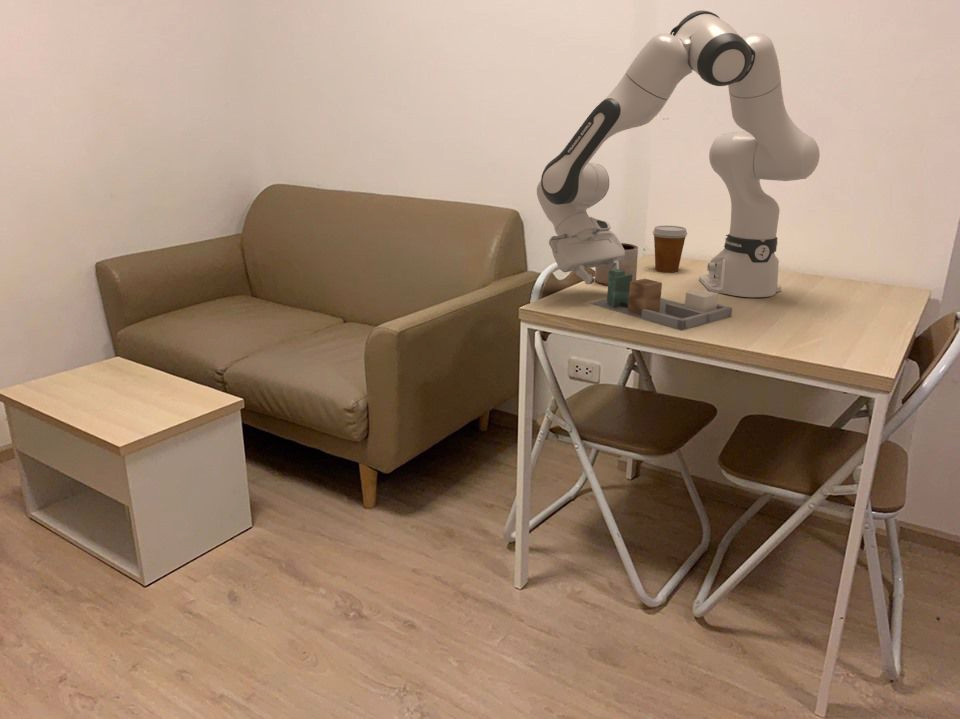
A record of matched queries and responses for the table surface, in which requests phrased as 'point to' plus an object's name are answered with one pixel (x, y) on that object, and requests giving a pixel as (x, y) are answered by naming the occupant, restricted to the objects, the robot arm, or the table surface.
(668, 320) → the board
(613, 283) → the toy blocks
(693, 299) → the cream block
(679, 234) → the disposable coffee cup
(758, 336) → the table surface
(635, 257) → the planter
